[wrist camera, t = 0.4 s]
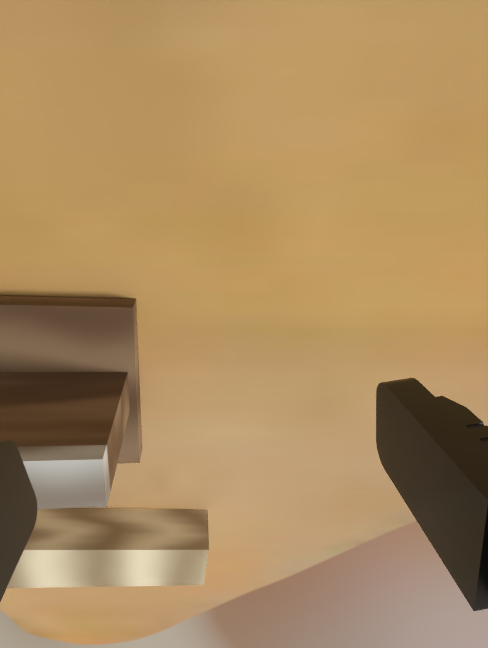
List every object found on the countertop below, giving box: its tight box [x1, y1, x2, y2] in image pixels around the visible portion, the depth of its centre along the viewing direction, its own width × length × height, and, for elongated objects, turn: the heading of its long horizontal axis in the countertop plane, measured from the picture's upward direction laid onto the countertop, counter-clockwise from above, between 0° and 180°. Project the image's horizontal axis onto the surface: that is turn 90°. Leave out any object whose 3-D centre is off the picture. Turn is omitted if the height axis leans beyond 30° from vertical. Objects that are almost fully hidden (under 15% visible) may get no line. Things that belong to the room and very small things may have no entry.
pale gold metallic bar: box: [7, 508, 209, 588], centre depth 32 cm, size 16×4×4 cm, turn 82°
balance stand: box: [0, 296, 142, 509], centre depth 24 cm, size 12×10×10 cm
